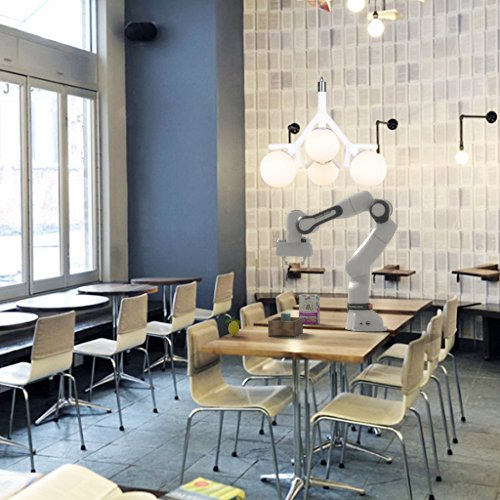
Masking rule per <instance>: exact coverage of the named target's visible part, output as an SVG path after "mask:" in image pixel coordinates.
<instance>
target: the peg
mask: <svg viewBox="0 0 500 500" xmlns="http://www.w3.org/2000/svg"><path fill="white" fill-rule="evenodd" d="M280 317H281V321H291V317H292V316H291V312H282V313H280Z"/></svg>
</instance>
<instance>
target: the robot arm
mask: <svg viewBox="0 0 500 500" xmlns="http://www.w3.org/2000/svg"><path fill="white" fill-rule="evenodd" d="M393 209H394V207H393V205H392V203H391V202H390V201H389V200H387V199H384V198H374V196H373V195H372V193H371V192H370V191H368V190H361V191H358V192H354V193H352V194H350V195H347V196H345V197H344V198H342V199H340V200H338V201H337V202H336V203H335V204H333V205H332V206H330V207H328V208H326V209H324V210H322V211H319V212H316V213H314V214H311V215H309V214H307V213H305V212H303V211H302V210H301V209H293V210H290V211H288V212H287V213H286V217H285V218H286V220H285V221H286V222H285V227H286V233H285V238H286V239H278V240H276V242H275V247H276V250H275V255H276V257H282V260H283V262H284V266H287V265H288V264H289V263H288V261H287V260H286V258H287V257H296V258H299V257H302V259H303V260H302V261H300V264H301V266H304V265H305V262H306V260H307V258H308V257H309V258H310V257H312V256H313V255H314V249H313V245H312V243H311V242H312V239H311V238H308V237H306V236H307V235H309V234H314V233H316V232H317V231H318V230H319V229H320V226H321V225H324V224H325V223H328V222H331V221H333V220H338V219H347V218H351V217H355V216H358V215H360V214H362V213H364V212H369V214H370V217H371V218H372V219H373V220H374V222H375V223H376V224H375V226H374V227H373V228H372V230H371V231H370V232H369V234H368V235H367V237H366V238H365V239H364V240H363V242H362V244H360V246H359V247H358V248H357V249H356V250H355V252H354V253H352V255H351V256H350V258H349V259H348V260H347V262H346V263H345V266H344V267H345V268H344V269H345V271H346V274H347V275H348V276H349V282H348V286H347V303H346V313H347V317H346V324H345V330H349V331H353V332H384V331H385V332H386V331H388V326H385V324H384V321H383V320H384V319H383V317H382V316H381V315H380V314H378V313H377V312H376V311H375V310H373V303H371V302H370V293H369V292H370V291H369V290H370V289H369V287H370V279H371V267H372V265H373V264H374V262H375V261H376V260H377V259H378V258H379V257H380V256H381V254H382V253H383V252H384V250H385V249H386V247H387V246H389V243H390V242H391V240H392V239H393V237H394V236H395V233H397V232H396V231H397V230H398V229H397V224H396V222H395V221H394V220H392V219H391V216H392V214H393ZM304 235H305V236H304Z"/></svg>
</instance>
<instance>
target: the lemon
mask: <svg viewBox="0 0 500 500" xmlns="http://www.w3.org/2000/svg"><path fill="white" fill-rule="evenodd" d="M228 323H229V325H228V332H229V334H231V335H232V336H234V337H235V336H236V335H237V334H238V333H240V326H242V322H241V321H240V320H238V319H235V316H233V317H229V318H227V319H226V320H225V322H224V324H228ZM239 325H240V326H239Z"/></svg>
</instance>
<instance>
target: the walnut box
mask: <svg viewBox="0 0 500 500" xmlns="http://www.w3.org/2000/svg"><path fill="white" fill-rule="evenodd" d="M290 317H291V321H281V316H275V317H273V318H271V319H269V320H268V321H267V323H268V324H267V331H268V332H267V336H268V337H273V338H294V337H295V338H297V337H298V336H299V334H300V335H301V333H302V334H303V332H304V324H303V317H299V316H298V317H297V316H296V317H295V316H290ZM296 336H297V337H296Z"/></svg>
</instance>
